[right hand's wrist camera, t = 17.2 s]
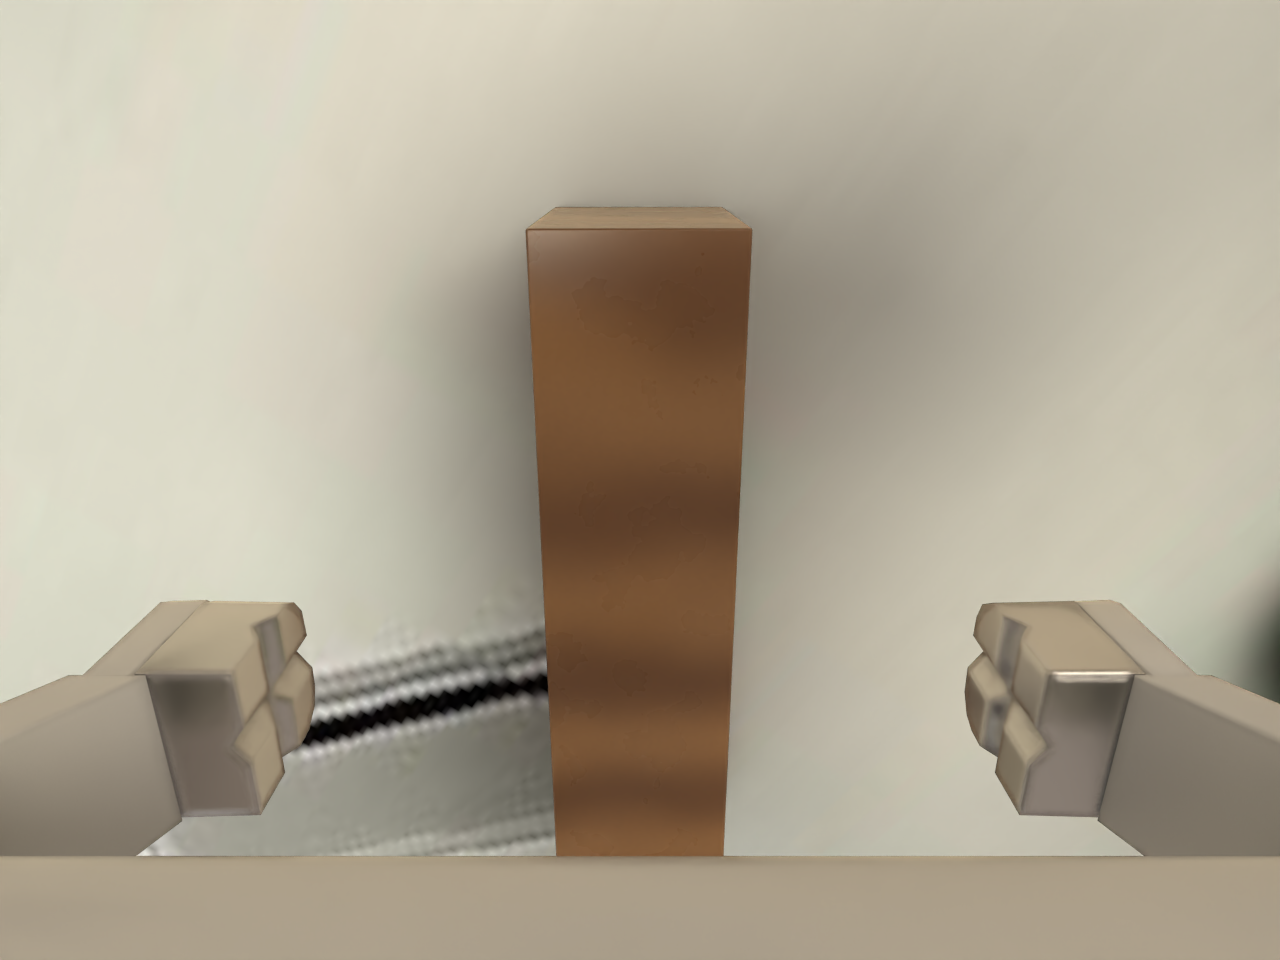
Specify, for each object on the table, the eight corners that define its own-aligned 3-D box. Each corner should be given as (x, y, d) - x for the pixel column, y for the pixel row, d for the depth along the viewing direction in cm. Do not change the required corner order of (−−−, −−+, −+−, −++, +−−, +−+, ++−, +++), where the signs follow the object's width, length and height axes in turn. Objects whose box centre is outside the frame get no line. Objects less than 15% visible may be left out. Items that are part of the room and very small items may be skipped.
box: (554, 207, 32) (525, 228, 24) (723, 206, 32) (752, 228, 24) (575, 783, 42) (560, 938, 34) (703, 783, 42) (719, 938, 34)
